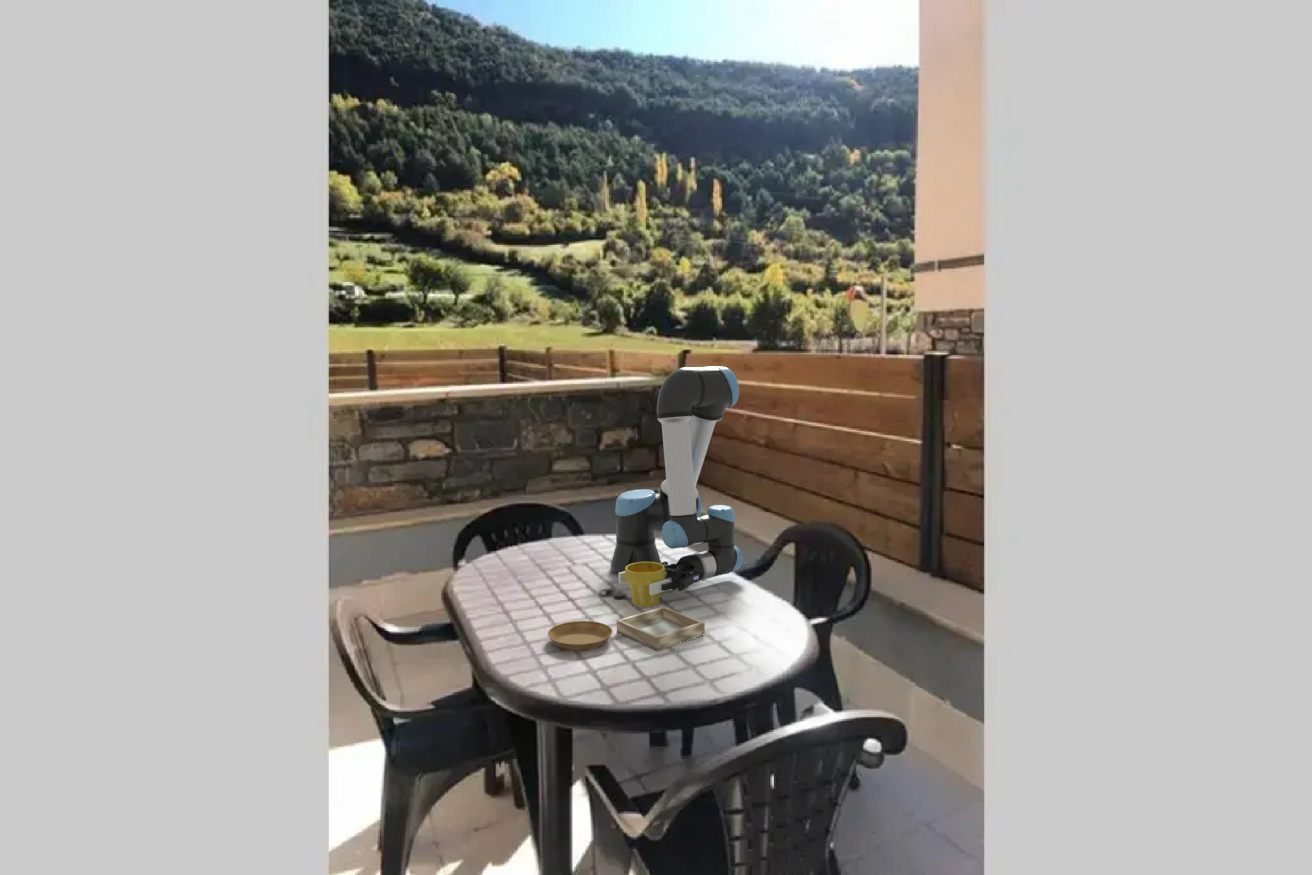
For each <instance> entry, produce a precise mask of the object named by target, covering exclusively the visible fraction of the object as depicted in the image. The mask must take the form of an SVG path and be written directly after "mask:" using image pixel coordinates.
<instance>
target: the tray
mask: <svg viewBox="0 0 1312 875" xmlns="http://www.w3.org/2000/svg"><path fill="white" fill-rule="evenodd" d="M705 625H706V623H705V622H704V621H701V620H700V619H696V618H694V617H691V616H689V615H686V614H684V613H681V612H678V611H676V610H673V609H671V608H669V607H667V606H660V607H658V608H654V609H651V610H648V611H644V612H641V613H638V614H634V615H630V616H628V617H627V616H626V617H624V618H621V619H616V633H617V634H619V633H620V634H619V635H621V634H622V635H621V636H624V637H625V638H627V637H628V638H627V639H629V640H632V641H635V642H637V643H638V642H639V643H638V644H640V643H641V645H643V646H645V647H648V648H649V649H651V650H653V651H656V652H658V650H659V651H661V650H664V649H668V648H670V647H674V646H676V645H678V643H679V644H681V643H680V642H682V643H684V641H685V642H688V641H690V640H689V639H691V640H693V639H692V638H694V637H697V638H700V637H702V636H701V635H703V634H705V631H706V630H705V628H706V627H705ZM705 635H706V634H705ZM699 636H700V637H699ZM703 636H704V635H703ZM694 639H695V638H694ZM687 640H688V641H687ZM675 644H676V645H675ZM669 646H670V647H669Z"/></svg>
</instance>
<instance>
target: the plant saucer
mask: <svg viewBox="0 0 1312 875" xmlns="http://www.w3.org/2000/svg"><path fill="white" fill-rule="evenodd" d="M613 632H614V631H613V629H612V627H610V626H609V625H608V624H606V623H602V622H599V621H591V620H577V621H570V622H568V621H567V622H563V623H561V624H557V625H555V626H553V627H552V628H550V629H549V630H548V632H547V635H548V638H549V639H550V640H551V641H552V642H553V643H554V644H555V645H556V646H557V647H559V648H560V649H563V650H566V651H570V652H583V651H584V652H586V651H591V650H595V649H597V648H600V647H601V646H603V645H604V644H605V643H606V642H607V641H608V640H609V639H610V637H611V636H612V635H613Z"/></svg>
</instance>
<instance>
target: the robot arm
mask: <svg viewBox="0 0 1312 875" xmlns="http://www.w3.org/2000/svg"><path fill="white" fill-rule="evenodd" d="M739 395H740V386H739V382H738V378H737V377H736V375H735V373H734V372H733V371H732V370H731V369H730V368H728V367H727V366H716V365H711V366H695V367H694V366H692V367H690V366H689V367H688V366H684V367H679V368H677V369H675V370H674V371H672V372H671V373H670V374H668V376H667V377H666V379H665V380H664V381H663V383H662V385H661V386H660V389H659V393H658V397H657V400H656V401H657V403H656V416H657V421H658V422H660V424H661V432H662V443H663V444H662V445H663V454H664V455H663V456H664V468H665V480H663V481H662V482H661V483H660V487H659V489H658V490H659V491H658V492H655V491H654V490H653V489H646V488H641V489H632V490H627V491H625V492H623V493H620V494H619V495H618V497H617V498H616V502H615V509H614V512H615V539H616V541H615V542H616V543H615V547H614V551H613V554H612V559H611V560H610V571H611V572H612V573H614V574H615V575H617V576H618V584H624V583H628V582H627V581H626V578H625V567H626V566H627V565H629V564H632V563H637V562H656V563H660V564H662V565H663V566H664V567H665V579H664V580H663V581H659V582H655V583H651V584H649V594H650V595H654V594H657V593H660V594H661V593H664V592H667V591H671V590H673V591H675V590H678V591H679V592H683V591H684V590H686V589H687V588H689V587H691V586H692V585H693V584H695V583H699V582H700V581H702V582H705V580H707V579H712V578H715V577H717V576H718V577H719V576H723V575H727V574H731V573H733V572H735V571H738V570H739V569H740V568H741V566H742V564H743V560H744V559H743V555H742V551H741V550H740V548H739V547H738V546H736V545H735V523H736V522H735V521H736V520H735V510H734V509H733V507H731V506H729V505H725V504H715V505H711V506H709V507H708V508H707V512H706V515H701V514H702V505H701V504H702V499H701V497H700V495H699V491H698V489H697V488H696V487H697V483H698V480H699V476H700V474H701V472H702V467H703V464H704V461H705V458H706V456H707V455H706V454H707V452H708V448H709V445H710V442H711V438H712V435H713V432H714V430H715V426H716V423H717V422H719V421H721V420H722V419H723V418H724V415H725V412H726V409H728V408H731V407H733V406H735V405H736V403H737V402H738V400H739V397H740V396H739ZM659 532H660V533H661V539H662V541H663V543H664V545H665V546H666V547H668V548H670V549H674V550H675V549H685V548H687V547H692V546H696V545H702V544H707V550H703V551H699V552H695V553H693V554H688V555H684V556H682V557H680V558H679V559H678V561H677V562H676V563H670V564H668V561H661V558H660V555H659V551H658V548H657V545H656V533H659Z"/></svg>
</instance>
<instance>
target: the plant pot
mask: <svg viewBox="0 0 1312 875" xmlns="http://www.w3.org/2000/svg"><path fill="white" fill-rule="evenodd" d="M665 575H666V572H665V567H664V566H663V565H662V564H660V563H656V562H637V563H632V564H629V565H627V566H626V567H625V578H626V581H627V582H626V583H628V587H629V591H630V595H631V600H632V604H633V605H634V606H636V607H640V608H649V607H650V608H651V607H654V606H657V605H658V604H659V601H660V597H661V593H657V594H654V595H650V594H649V584H651V583H655V582H659V581H663V580H666V578H665Z"/></svg>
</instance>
